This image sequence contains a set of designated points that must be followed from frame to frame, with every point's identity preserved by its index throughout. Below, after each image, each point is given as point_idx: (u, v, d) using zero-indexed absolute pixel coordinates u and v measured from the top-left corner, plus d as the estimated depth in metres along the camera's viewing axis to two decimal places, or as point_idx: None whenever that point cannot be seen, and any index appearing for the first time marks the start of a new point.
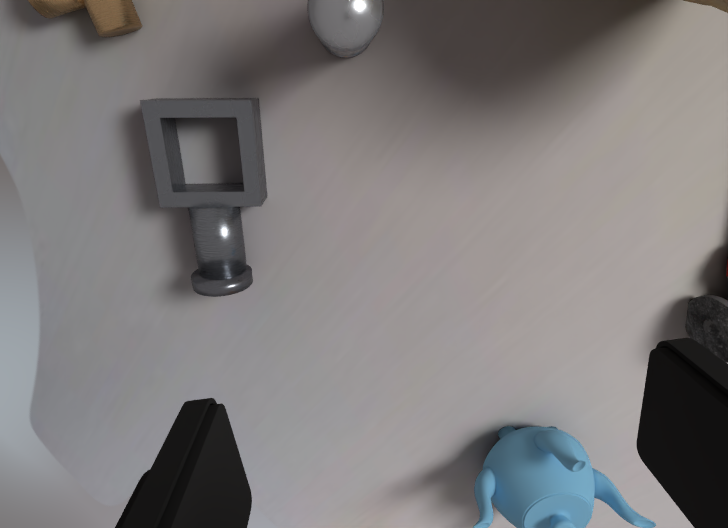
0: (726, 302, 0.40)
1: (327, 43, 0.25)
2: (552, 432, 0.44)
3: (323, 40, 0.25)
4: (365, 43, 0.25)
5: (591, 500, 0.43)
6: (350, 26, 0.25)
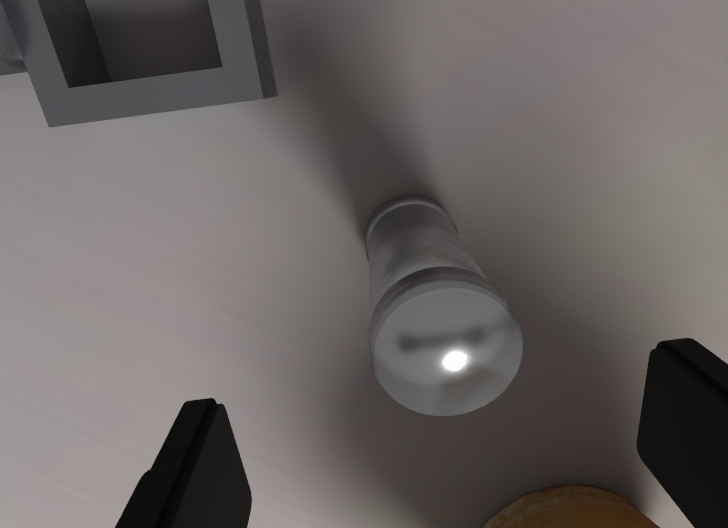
0: None
1: (380, 328, 0.12)
2: None
3: (385, 321, 0.12)
4: None
5: None
6: (416, 369, 0.12)
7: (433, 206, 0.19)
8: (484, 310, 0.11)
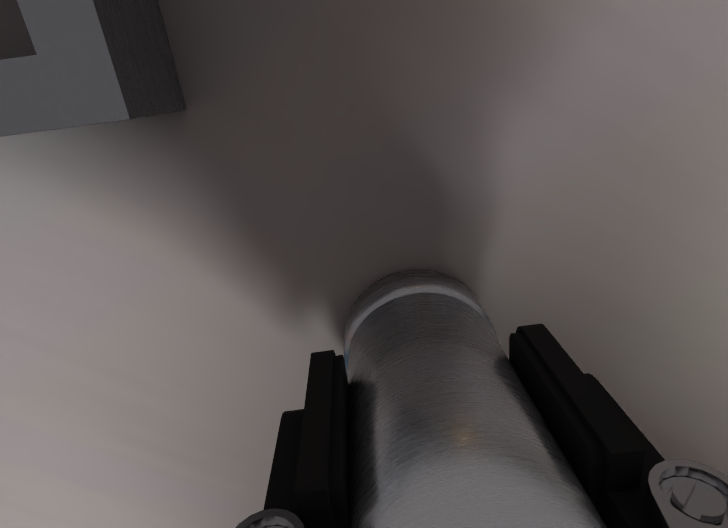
0: None
1: None
2: None
3: None
4: None
5: None
6: None
7: (457, 295, 0.11)
8: None
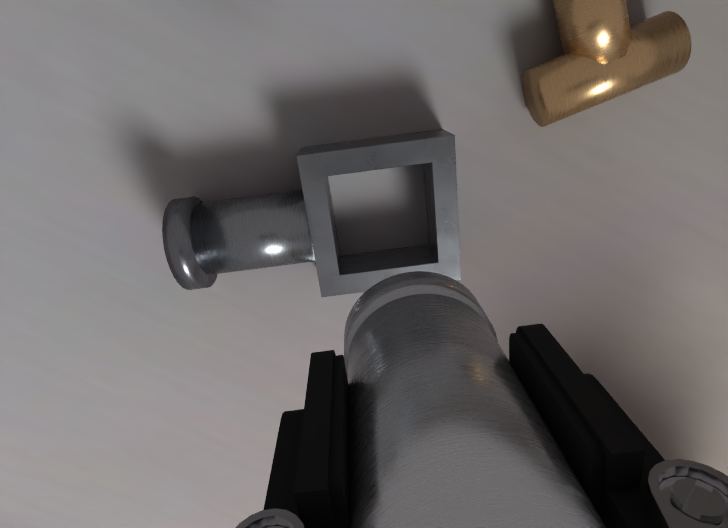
0: None
1: None
2: None
3: None
4: None
5: None
6: None
7: (457, 297, 0.11)
8: None
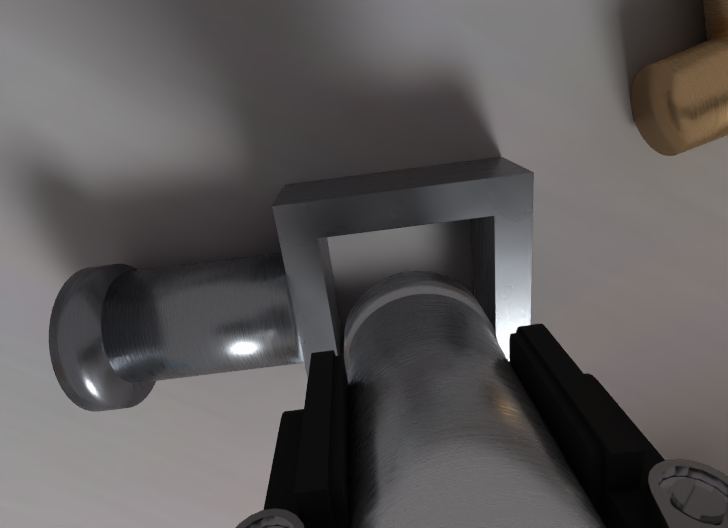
0: None
1: None
2: None
3: None
4: None
5: None
6: None
7: (457, 297, 0.11)
8: None
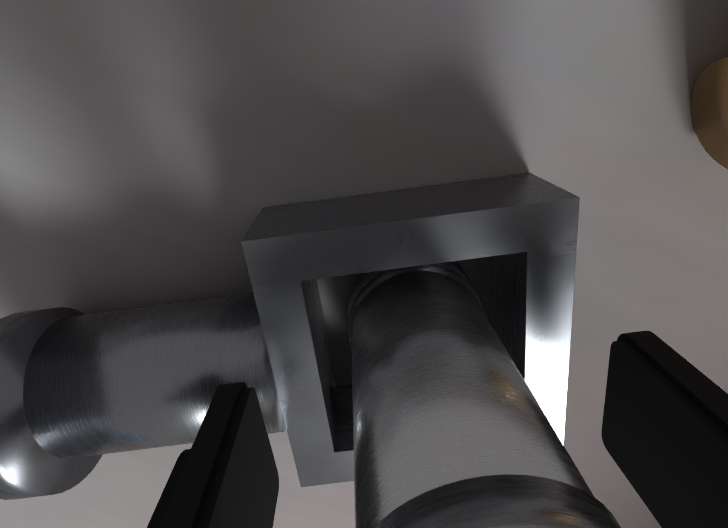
0: None
1: None
2: None
3: None
4: None
5: None
6: None
7: (449, 273, 0.13)
8: None
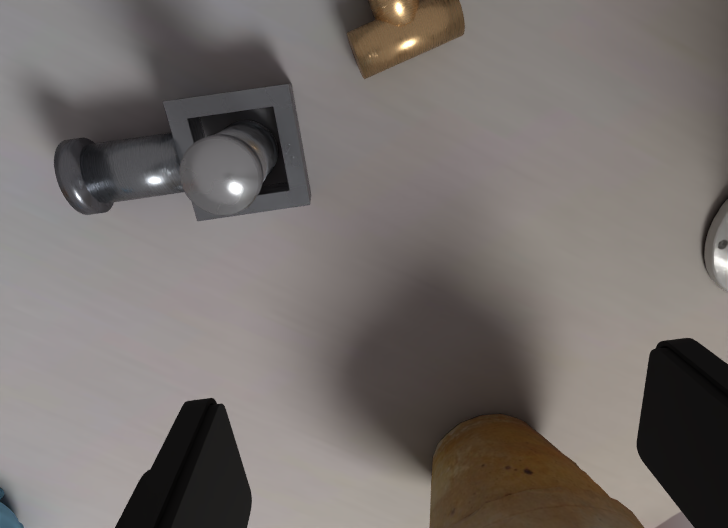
0: None
1: (182, 162, 0.23)
2: None
3: (183, 157, 0.23)
4: None
5: None
6: (204, 185, 0.23)
7: (255, 124, 0.31)
8: (232, 149, 0.23)
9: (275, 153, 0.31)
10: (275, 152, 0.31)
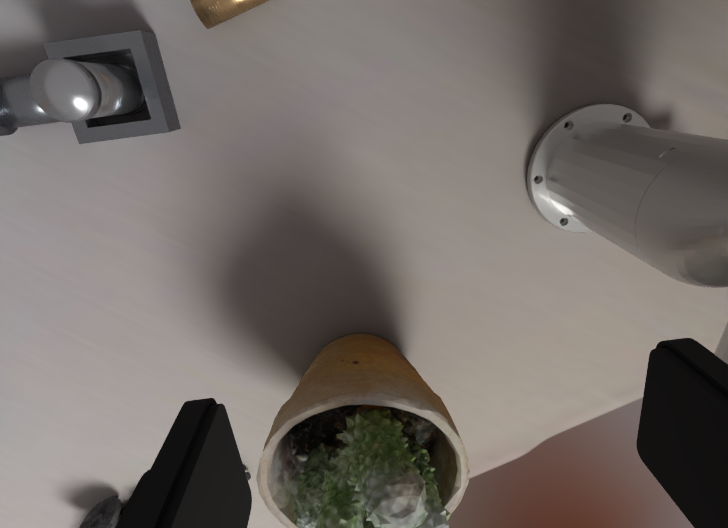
0: (115, 518, 0.56)
1: (31, 78, 0.31)
2: None
3: (31, 74, 0.31)
4: (44, 110, 0.32)
5: None
6: (49, 96, 0.31)
7: (124, 65, 0.38)
8: (67, 68, 0.30)
9: (142, 90, 0.39)
10: None
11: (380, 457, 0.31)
